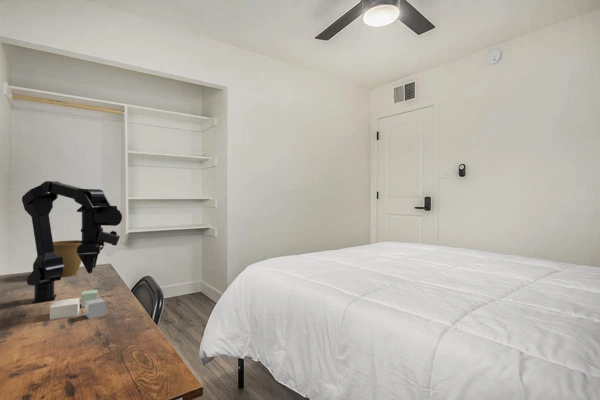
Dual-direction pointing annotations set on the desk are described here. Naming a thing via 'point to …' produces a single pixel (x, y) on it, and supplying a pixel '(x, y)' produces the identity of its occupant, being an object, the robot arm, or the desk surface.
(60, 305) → the cream block
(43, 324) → the desk surface
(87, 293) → the sage cube
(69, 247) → the plant pot
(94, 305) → the grey cube
